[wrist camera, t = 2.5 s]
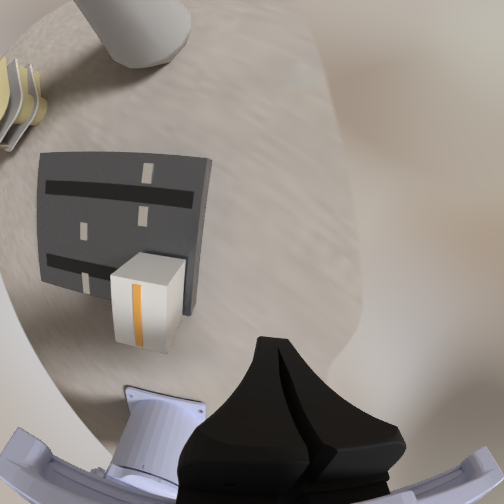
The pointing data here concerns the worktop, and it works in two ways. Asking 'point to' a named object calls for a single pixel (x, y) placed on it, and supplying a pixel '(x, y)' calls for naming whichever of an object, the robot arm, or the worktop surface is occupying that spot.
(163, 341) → the white striped block
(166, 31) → the salt shaker
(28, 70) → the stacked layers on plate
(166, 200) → the console
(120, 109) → the worktop surface
